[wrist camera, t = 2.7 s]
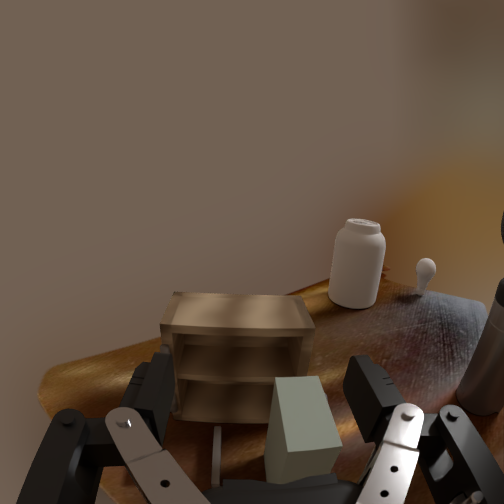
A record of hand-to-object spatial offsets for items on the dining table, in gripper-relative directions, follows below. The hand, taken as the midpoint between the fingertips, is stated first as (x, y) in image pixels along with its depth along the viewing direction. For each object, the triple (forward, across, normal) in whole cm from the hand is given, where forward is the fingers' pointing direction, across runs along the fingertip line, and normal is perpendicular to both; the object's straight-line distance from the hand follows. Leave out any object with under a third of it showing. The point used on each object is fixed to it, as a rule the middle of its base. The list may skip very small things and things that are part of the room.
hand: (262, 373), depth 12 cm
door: (+6, -5, +22) cm, 23 cm away
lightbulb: (+55, -51, +22) cm, 78 cm away
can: (+54, -28, +22) cm, 65 cm away
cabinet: (+14, +2, +22) cm, 26 cm away
